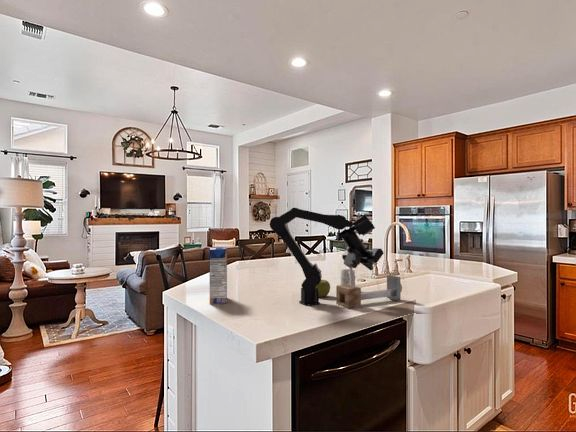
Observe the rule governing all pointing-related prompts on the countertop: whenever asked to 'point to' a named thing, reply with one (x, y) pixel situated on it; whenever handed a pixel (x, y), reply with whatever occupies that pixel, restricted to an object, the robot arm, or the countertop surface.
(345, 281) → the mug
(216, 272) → the beverage box
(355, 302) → the block
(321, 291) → the apple
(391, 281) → the hook rod
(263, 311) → the countertop surface
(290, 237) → the robot arm
